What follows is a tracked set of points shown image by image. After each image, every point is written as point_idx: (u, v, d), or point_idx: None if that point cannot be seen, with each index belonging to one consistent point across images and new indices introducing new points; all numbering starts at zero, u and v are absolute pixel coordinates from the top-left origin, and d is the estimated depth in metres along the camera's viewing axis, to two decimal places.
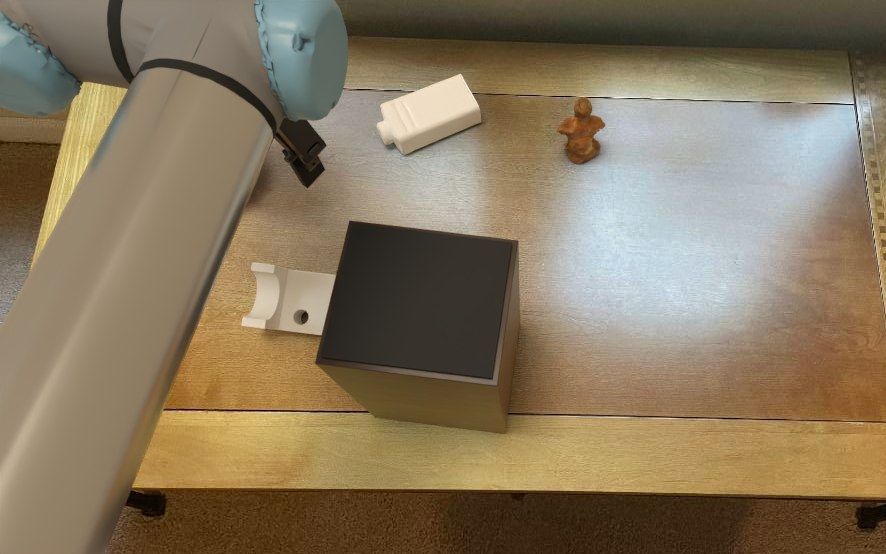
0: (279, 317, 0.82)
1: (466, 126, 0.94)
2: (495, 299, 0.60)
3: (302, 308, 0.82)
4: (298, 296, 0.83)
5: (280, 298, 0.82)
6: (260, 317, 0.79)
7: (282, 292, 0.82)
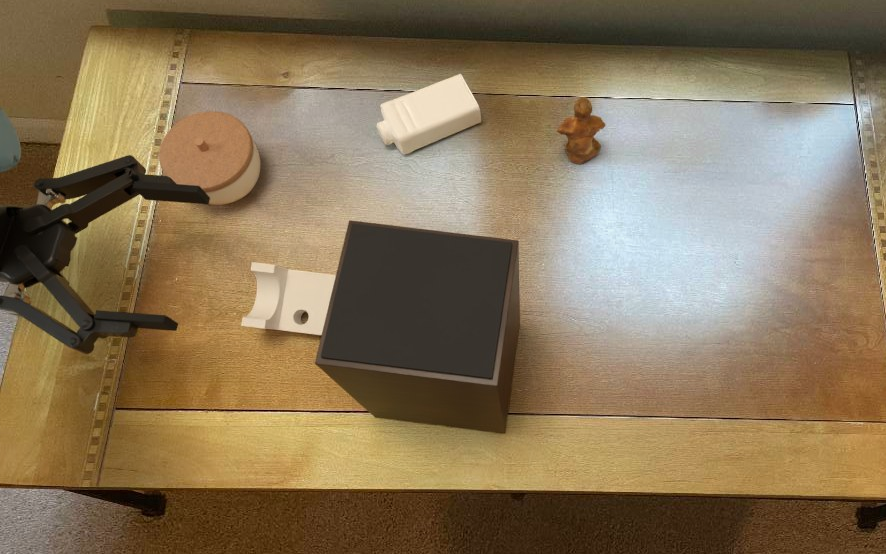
0: (279, 317, 0.82)
1: (466, 126, 0.94)
2: (495, 299, 0.60)
3: (302, 308, 0.82)
4: (298, 296, 0.83)
5: (280, 298, 0.82)
6: (260, 317, 0.79)
7: (282, 292, 0.82)
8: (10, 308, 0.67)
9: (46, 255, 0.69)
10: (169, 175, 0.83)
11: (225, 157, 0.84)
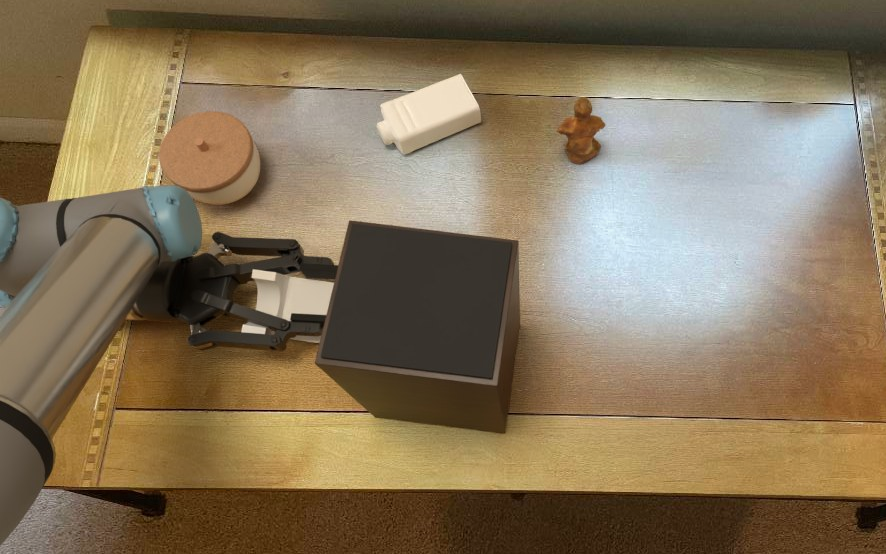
0: None
1: (466, 126, 0.94)
2: (495, 299, 0.60)
3: None
4: (299, 303, 0.82)
5: (280, 305, 0.81)
6: (260, 325, 0.79)
7: (282, 299, 0.82)
8: (206, 340, 0.77)
9: None
10: (169, 175, 0.83)
11: (225, 157, 0.84)
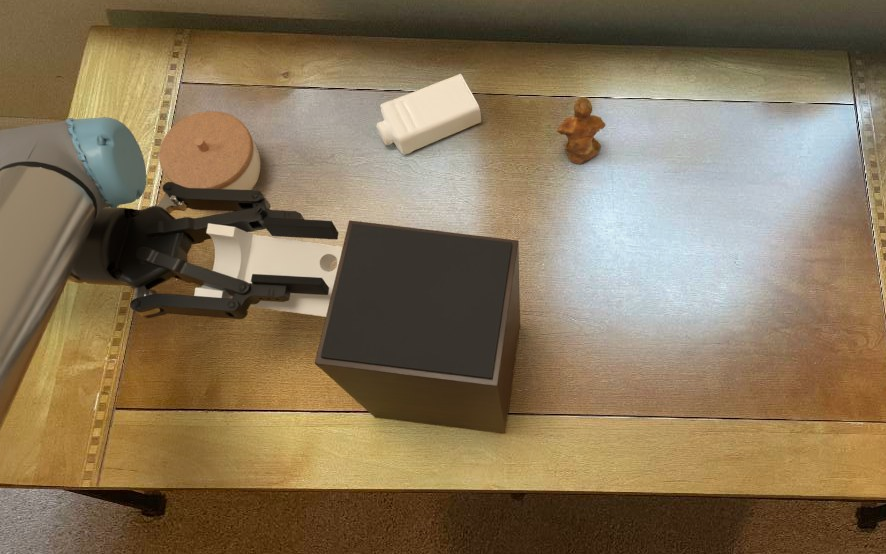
0: None
1: (466, 126, 0.94)
2: (495, 299, 0.60)
3: None
4: (264, 265, 0.71)
5: (241, 267, 0.70)
6: None
7: (244, 260, 0.70)
8: (152, 304, 0.65)
9: None
10: (169, 175, 0.83)
11: (225, 157, 0.84)
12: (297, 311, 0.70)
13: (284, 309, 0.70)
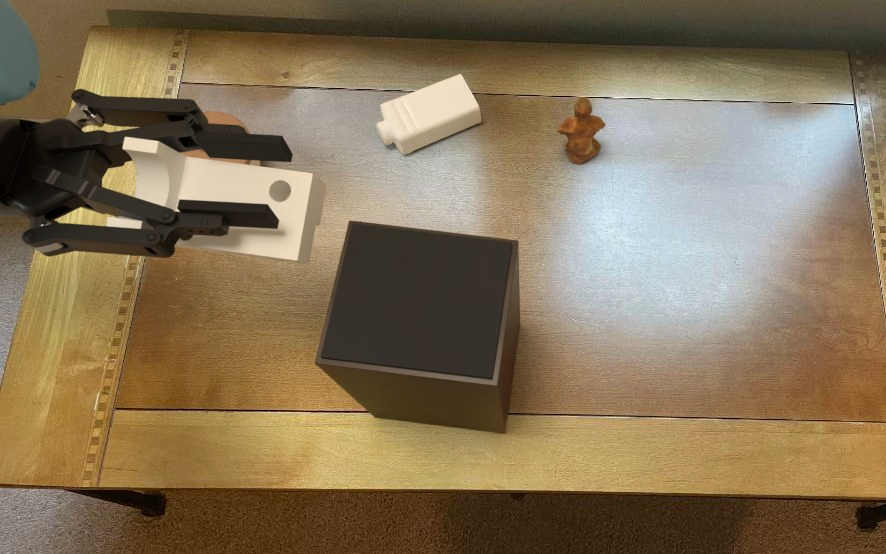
0: None
1: (466, 126, 0.94)
2: (495, 299, 0.60)
3: None
4: (200, 195, 0.57)
5: (170, 196, 0.56)
6: None
7: (174, 188, 0.56)
8: (50, 236, 0.51)
9: None
10: None
11: None
12: (240, 251, 0.56)
13: (224, 248, 0.56)
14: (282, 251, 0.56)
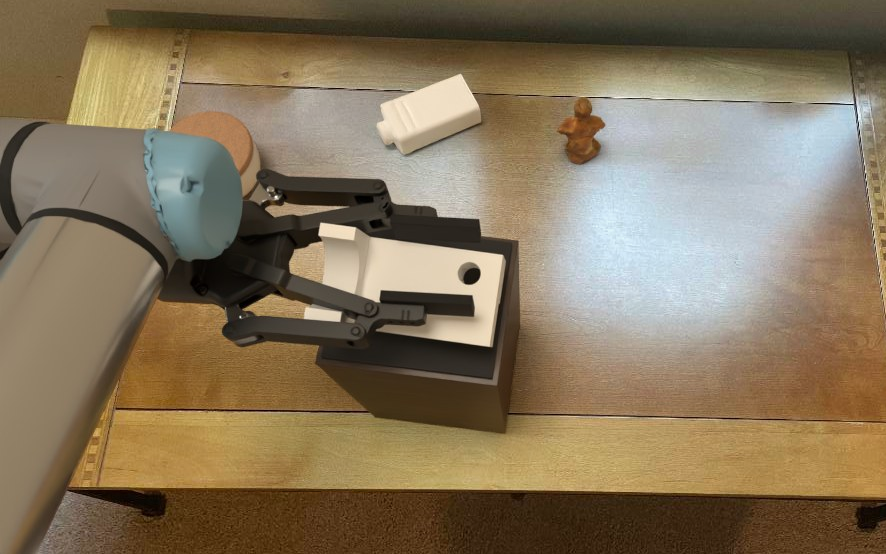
0: None
1: (466, 126, 0.94)
2: None
3: None
4: (386, 277, 0.55)
5: (359, 280, 0.54)
6: None
7: (361, 271, 0.54)
8: (251, 330, 0.49)
9: None
10: None
11: None
12: (430, 336, 0.54)
13: (413, 334, 0.54)
14: (473, 337, 0.54)
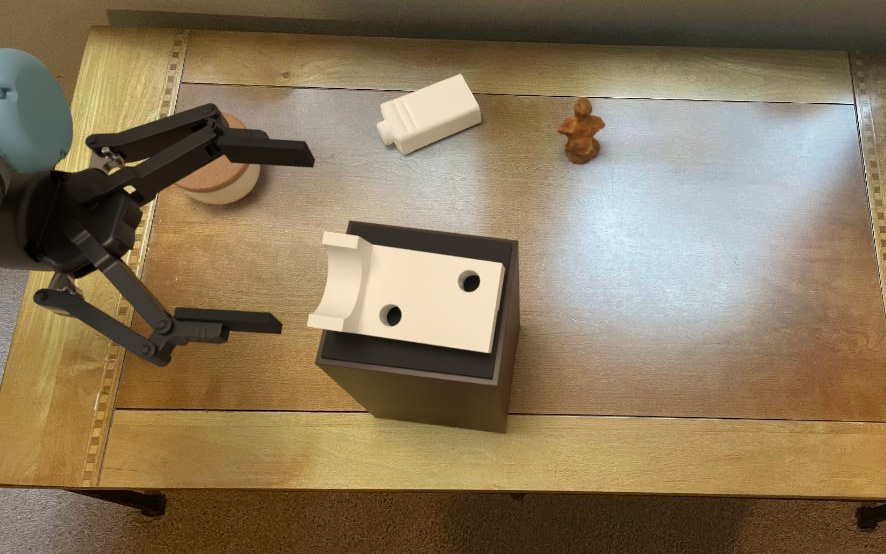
0: (359, 315, 0.56)
1: (466, 126, 0.94)
2: None
3: (392, 302, 0.56)
4: (387, 284, 0.56)
5: (361, 286, 0.55)
6: (334, 315, 0.53)
7: (364, 278, 0.56)
8: (58, 305, 0.49)
9: (104, 234, 0.51)
10: None
11: (225, 157, 0.84)
12: (430, 342, 0.56)
13: (414, 340, 0.56)
14: (472, 343, 0.56)
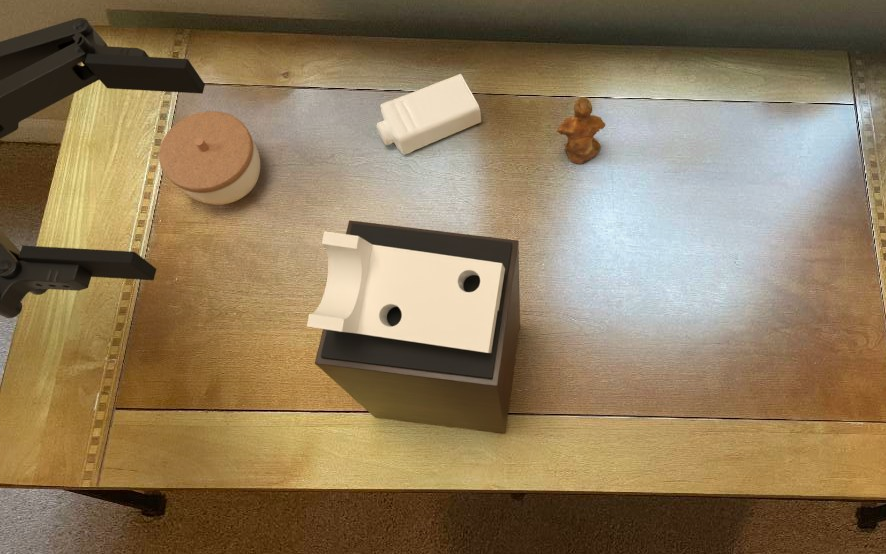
0: (359, 315, 0.56)
1: (466, 126, 0.94)
2: None
3: (392, 302, 0.56)
4: (387, 284, 0.56)
5: (361, 286, 0.55)
6: (333, 315, 0.53)
7: (364, 278, 0.56)
8: None
9: None
10: (169, 175, 0.83)
11: (225, 157, 0.84)
12: (430, 342, 0.56)
13: (414, 340, 0.56)
14: (472, 343, 0.56)
